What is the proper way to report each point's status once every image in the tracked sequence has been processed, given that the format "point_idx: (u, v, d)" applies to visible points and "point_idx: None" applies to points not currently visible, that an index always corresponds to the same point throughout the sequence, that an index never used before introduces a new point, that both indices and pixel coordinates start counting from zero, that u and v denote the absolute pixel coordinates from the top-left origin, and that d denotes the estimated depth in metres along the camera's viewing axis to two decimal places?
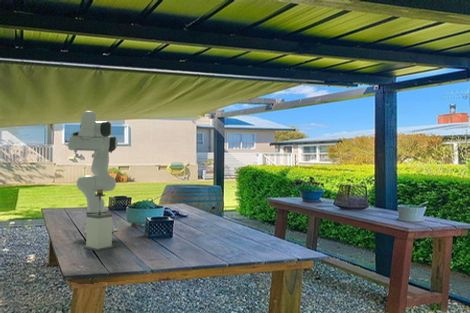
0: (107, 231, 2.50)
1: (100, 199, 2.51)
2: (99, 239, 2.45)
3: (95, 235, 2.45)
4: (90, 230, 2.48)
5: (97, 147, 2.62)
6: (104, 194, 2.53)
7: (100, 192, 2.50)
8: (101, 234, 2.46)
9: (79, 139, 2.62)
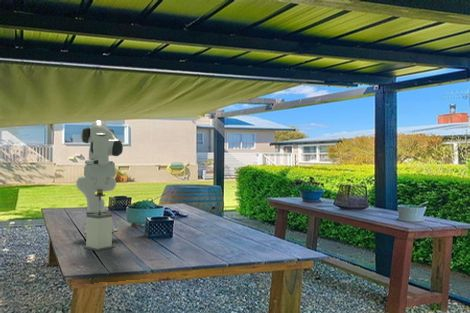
0: (107, 231, 2.50)
1: (100, 199, 2.51)
2: (99, 239, 2.45)
3: (95, 235, 2.45)
4: (90, 230, 2.48)
5: (112, 175, 2.56)
6: (104, 194, 2.53)
7: (100, 192, 2.50)
8: (101, 234, 2.46)
9: (97, 167, 2.47)
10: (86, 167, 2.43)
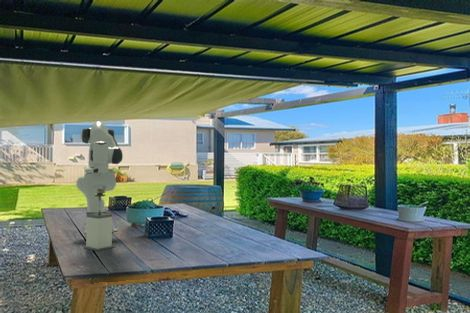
0: (107, 231, 2.50)
1: (100, 199, 2.51)
2: (99, 239, 2.45)
3: (95, 235, 2.45)
4: (90, 230, 2.48)
5: (111, 183, 2.56)
6: (104, 194, 2.53)
7: (100, 192, 2.50)
8: (101, 234, 2.46)
9: (97, 175, 2.47)
10: (86, 176, 2.43)
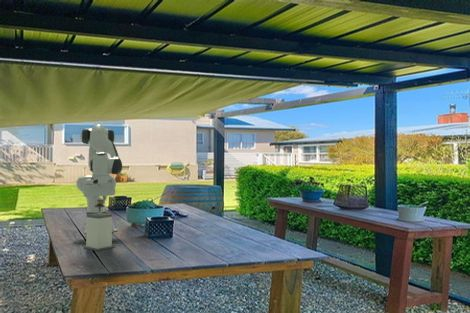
0: (107, 231, 2.50)
1: (100, 210, 2.51)
2: (99, 239, 2.45)
3: (95, 235, 2.45)
4: (90, 230, 2.48)
5: (111, 193, 2.56)
6: (104, 205, 2.53)
7: (100, 203, 2.50)
8: (101, 234, 2.46)
9: (97, 186, 2.47)
10: (86, 187, 2.43)
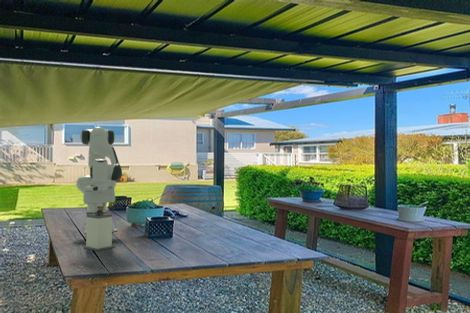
0: (107, 231, 2.50)
1: None
2: (99, 239, 2.45)
3: (95, 235, 2.45)
4: (90, 230, 2.48)
5: (111, 200, 2.56)
6: None
7: (100, 209, 2.50)
8: (101, 234, 2.46)
9: (96, 193, 2.47)
10: (85, 194, 2.43)
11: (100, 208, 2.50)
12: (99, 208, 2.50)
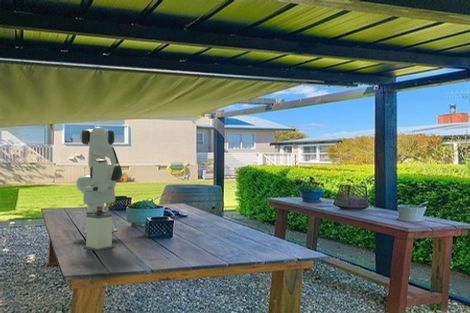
0: (107, 231, 2.50)
1: None
2: (99, 239, 2.45)
3: (95, 235, 2.45)
4: (90, 230, 2.48)
5: (111, 200, 2.56)
6: None
7: (100, 210, 2.50)
8: (101, 234, 2.46)
9: (96, 193, 2.47)
10: (86, 194, 2.43)
11: (100, 208, 2.50)
12: (99, 208, 2.50)
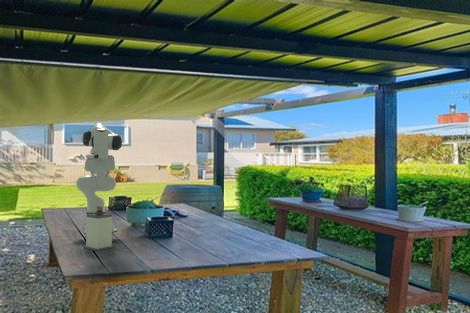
0: (107, 231, 2.50)
1: None
2: (99, 239, 2.45)
3: (95, 235, 2.45)
4: (90, 230, 2.48)
5: (111, 168, 2.69)
6: None
7: (100, 210, 2.50)
8: (101, 234, 2.46)
9: (97, 161, 2.60)
10: (87, 161, 2.56)
11: (100, 208, 2.50)
12: (99, 208, 2.50)
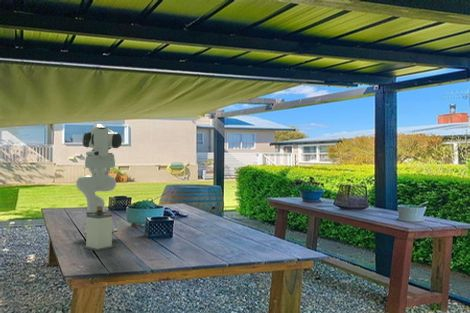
0: (107, 231, 2.50)
1: None
2: (99, 239, 2.45)
3: (95, 235, 2.45)
4: (90, 230, 2.48)
5: (111, 165, 2.71)
6: None
7: (100, 210, 2.50)
8: (101, 234, 2.46)
9: (97, 158, 2.62)
10: (87, 158, 2.58)
11: (100, 208, 2.50)
12: (99, 208, 2.50)
